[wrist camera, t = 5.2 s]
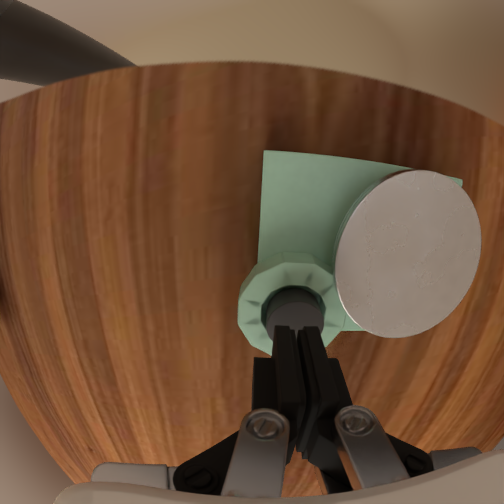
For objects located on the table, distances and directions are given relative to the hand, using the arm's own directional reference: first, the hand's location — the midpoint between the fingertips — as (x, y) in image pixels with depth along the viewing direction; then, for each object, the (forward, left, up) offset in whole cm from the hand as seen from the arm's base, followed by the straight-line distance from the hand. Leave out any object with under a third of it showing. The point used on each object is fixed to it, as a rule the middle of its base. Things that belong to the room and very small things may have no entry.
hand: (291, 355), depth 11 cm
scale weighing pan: (+1, +7, -4) cm, 8 cm away
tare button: (+1, 0, -4) cm, 4 cm away
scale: (0, +5, -7) cm, 9 cm away
